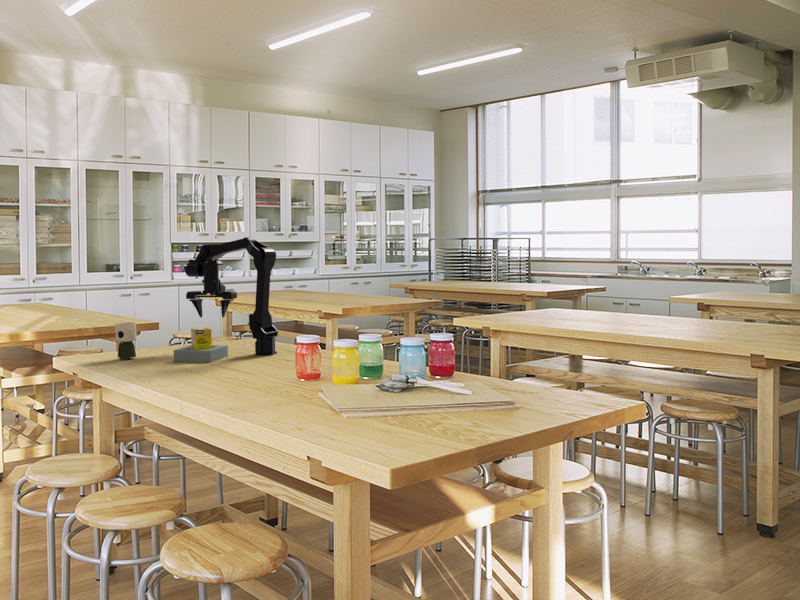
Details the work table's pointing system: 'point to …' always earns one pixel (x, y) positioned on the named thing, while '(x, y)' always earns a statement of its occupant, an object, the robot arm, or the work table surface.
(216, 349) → the block
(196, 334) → the supplement box
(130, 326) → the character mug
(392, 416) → the work table surface
